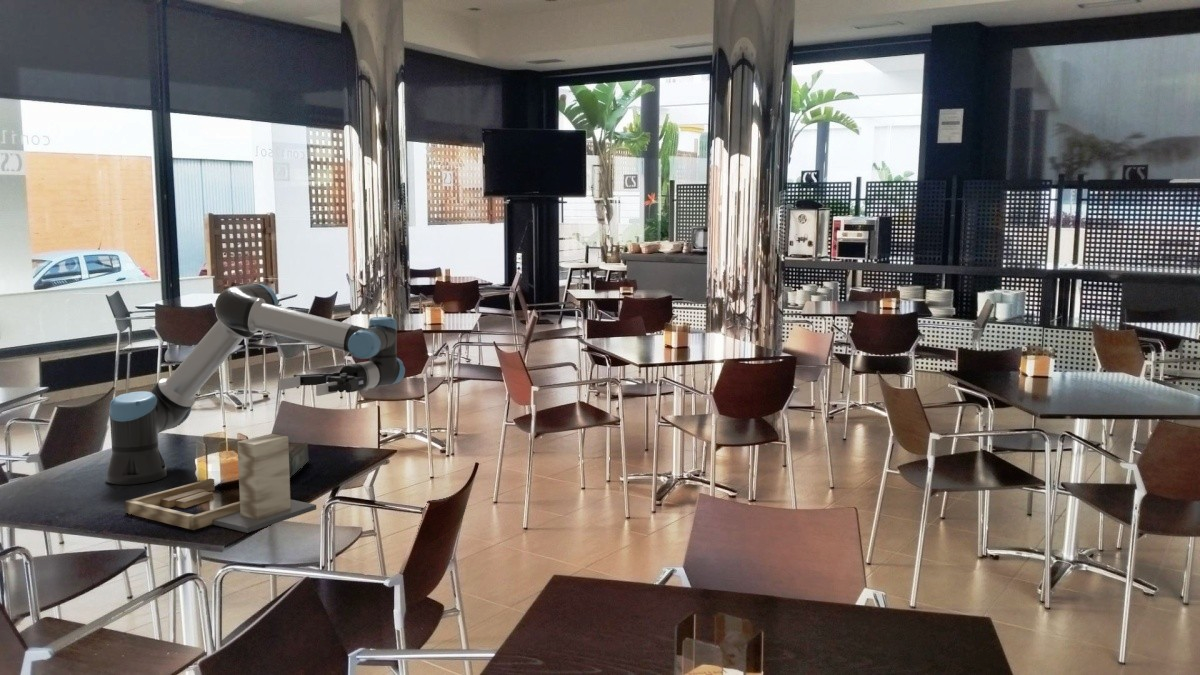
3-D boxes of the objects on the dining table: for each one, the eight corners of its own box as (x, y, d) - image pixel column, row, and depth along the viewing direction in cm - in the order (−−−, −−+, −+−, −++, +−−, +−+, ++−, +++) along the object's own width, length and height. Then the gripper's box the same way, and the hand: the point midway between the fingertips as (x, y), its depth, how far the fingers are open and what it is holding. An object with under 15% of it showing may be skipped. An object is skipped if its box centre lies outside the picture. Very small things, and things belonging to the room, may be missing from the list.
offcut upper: (176, 508, 237) (175, 500, 237) (205, 498, 245) (204, 491, 245) (184, 509, 236) (184, 502, 236) (213, 500, 244) (213, 492, 244)
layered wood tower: (240, 515, 226) (237, 441, 224) (273, 504, 235) (271, 433, 233) (257, 519, 223) (254, 444, 221) (290, 508, 232) (288, 436, 230)
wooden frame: (125, 513, 232) (125, 501, 231) (210, 489, 253) (210, 478, 252) (193, 530, 219) (193, 517, 219) (277, 503, 240) (276, 492, 240)
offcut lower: (160, 507, 238) (160, 498, 238) (198, 496, 248) (197, 488, 247) (169, 509, 236) (169, 500, 236) (206, 498, 246) (206, 490, 246)
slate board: (212, 524, 223) (212, 519, 223) (282, 502, 241) (282, 497, 241) (247, 532, 217) (247, 527, 217) (316, 509, 235) (316, 504, 235)
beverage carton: (261, 480, 263) (260, 456, 262) (282, 463, 282) (282, 441, 281) (290, 480, 263) (289, 456, 262) (309, 463, 282) (309, 441, 281)
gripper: (392, 395, 253) (333, 407, 235) (325, 385, 266) (264, 396, 248) (392, 367, 252) (333, 378, 234) (325, 359, 265) (264, 368, 247)
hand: (297, 387), depth 241 cm, fingers open, 13 cm apart
